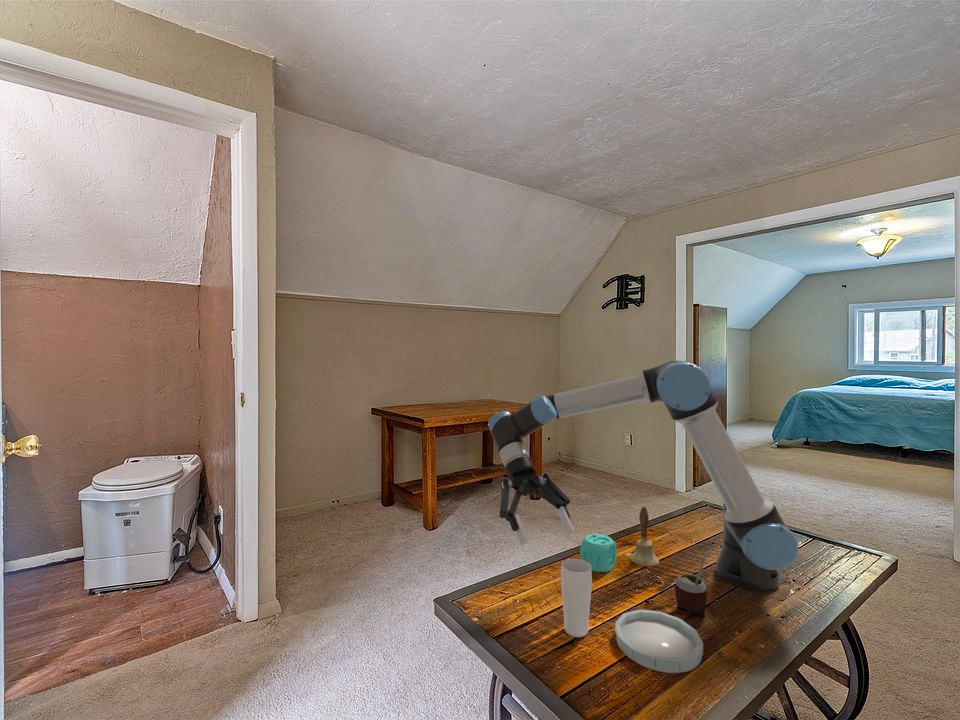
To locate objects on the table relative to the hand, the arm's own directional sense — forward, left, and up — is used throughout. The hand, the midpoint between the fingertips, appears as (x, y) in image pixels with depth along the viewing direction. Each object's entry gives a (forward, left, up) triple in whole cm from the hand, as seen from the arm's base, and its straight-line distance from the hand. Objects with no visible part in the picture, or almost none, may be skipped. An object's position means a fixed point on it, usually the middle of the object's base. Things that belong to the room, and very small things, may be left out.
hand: (548, 537), depth 110 cm
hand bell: (-28, -29, -17) cm, 44 cm away
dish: (-23, +11, -17) cm, 31 cm away
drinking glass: (-6, +9, -17) cm, 20 cm away
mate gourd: (-34, -3, -17) cm, 39 cm away
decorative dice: (-14, -23, -17) cm, 32 cm away
